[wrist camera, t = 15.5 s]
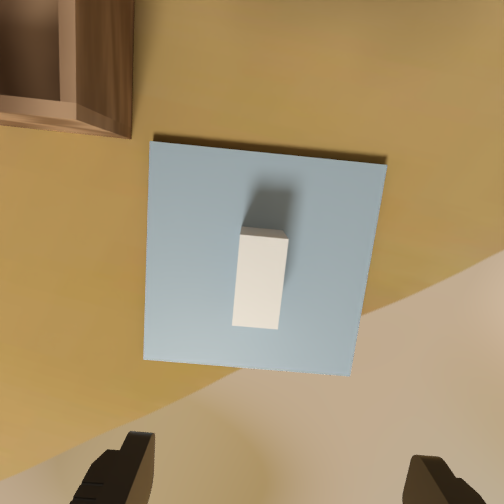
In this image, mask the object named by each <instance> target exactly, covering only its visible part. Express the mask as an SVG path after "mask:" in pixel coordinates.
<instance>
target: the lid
mask: <svg viewBox="0 0 504 504" xmlns="http://www.w3.org/2000/svg"><path fill="white" fill-rule="evenodd" d="M386 170H387V165H383V164H373V163H363V162H353V161H343V160H333V159H323V158H313V157H303V156H294V155H284V154H274V153H264V152H254V151H244V150H234V149H224V148H214V147H204V146H194V145H184V144H174V143H164V142H155V141H150V152H149V186H148V221H147V255H146V289H145V324H144V358H143V360H156V361H168V362H180V363H192V364H204V365H217V366H229V367H241V368H254V369H265V370H279V371H291V372H302V373H314V374H326V375H339V376H350V374H351V367H352V362H353V357H354V351H355V345H356V340H357V333H358V328H359V323H360V317H361V311H362V306H363V300H364V294H365V289H366V283H367V277H368V272H369V266H370V261H371V255H372V249H373V244H374V238H375V232H376V227H377V221H378V215H379V210H380V204H381V198H382V193H383V187H384V181H385V176H386Z"/></svg>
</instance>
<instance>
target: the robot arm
mask: <svg viewBox="0 0 504 504" xmlns="http://www.w3.org/2000/svg"><path fill="white" fill-rule="evenodd" d="M154 453H155V434H154V433H148V432H147V433H146V432H135V431H130V432H129V433H128V434H127V436H126V439H125V441H124V443H123V445H122V447H121V449H120V450H106V451H105V452H104V453H103V454H102V455H101V456H100V457H99V458H98V459H97V460H95V461H94V462H93V463H92V464H91V466H90V468H89V470H88V472H87V473H86V475H85V477H84V479H83V481H82V484H81V485H80V486H79V488H78V490H77V491H76V493H75V495H74V497H73V500H72V501H71V502H70V504H147V503H148V500H149V497H150V493H151V488H152V483H153V475H154ZM402 499H403V500H402V501H403V504H486V503H485V502H484V500H483V499H482V497H481V496H480V495H479V494H478V493H477V492H476V491H475V490H474V489H473V488H472V487H470V486H469V485H468V484H467V483H466V482H465V481H464V480H463V479H462V478H456V477H455V476H454V474H453V473H452V471H451V470H450V468H449V467H448V465H447V464H446V463H445V461H444V460H443V459H442V458H440V457H436V456H424V455H414V456H413V457H412V458H411V462H410V466H409V470H408V474H407V478H406V483H405V486H404V491H403V497H402Z"/></svg>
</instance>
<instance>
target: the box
mask: <svg viewBox="0 0 504 504" xmlns="http://www.w3.org/2000/svg"><path fill="white" fill-rule="evenodd" d="M133 36H134V0H0V125H4V126H13V127H23V128H32V129H41V130H51V131H60V132H69V133H79V134H88V135H97V136H107V137H116V138H125V139H131V124H132V80H133Z"/></svg>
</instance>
